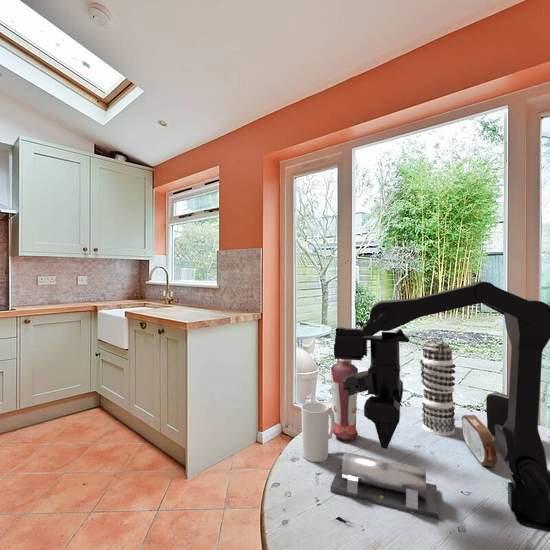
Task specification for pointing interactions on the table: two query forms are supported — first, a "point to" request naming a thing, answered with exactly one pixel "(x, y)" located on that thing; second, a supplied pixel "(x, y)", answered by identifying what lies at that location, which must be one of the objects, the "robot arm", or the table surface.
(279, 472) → the table surface
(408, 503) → the cradle
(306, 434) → the mug
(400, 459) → the table surface
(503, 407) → the battery charger
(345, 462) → the tube
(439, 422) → the decorative candle
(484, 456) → the tin
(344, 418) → the liquor
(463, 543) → the table surface
